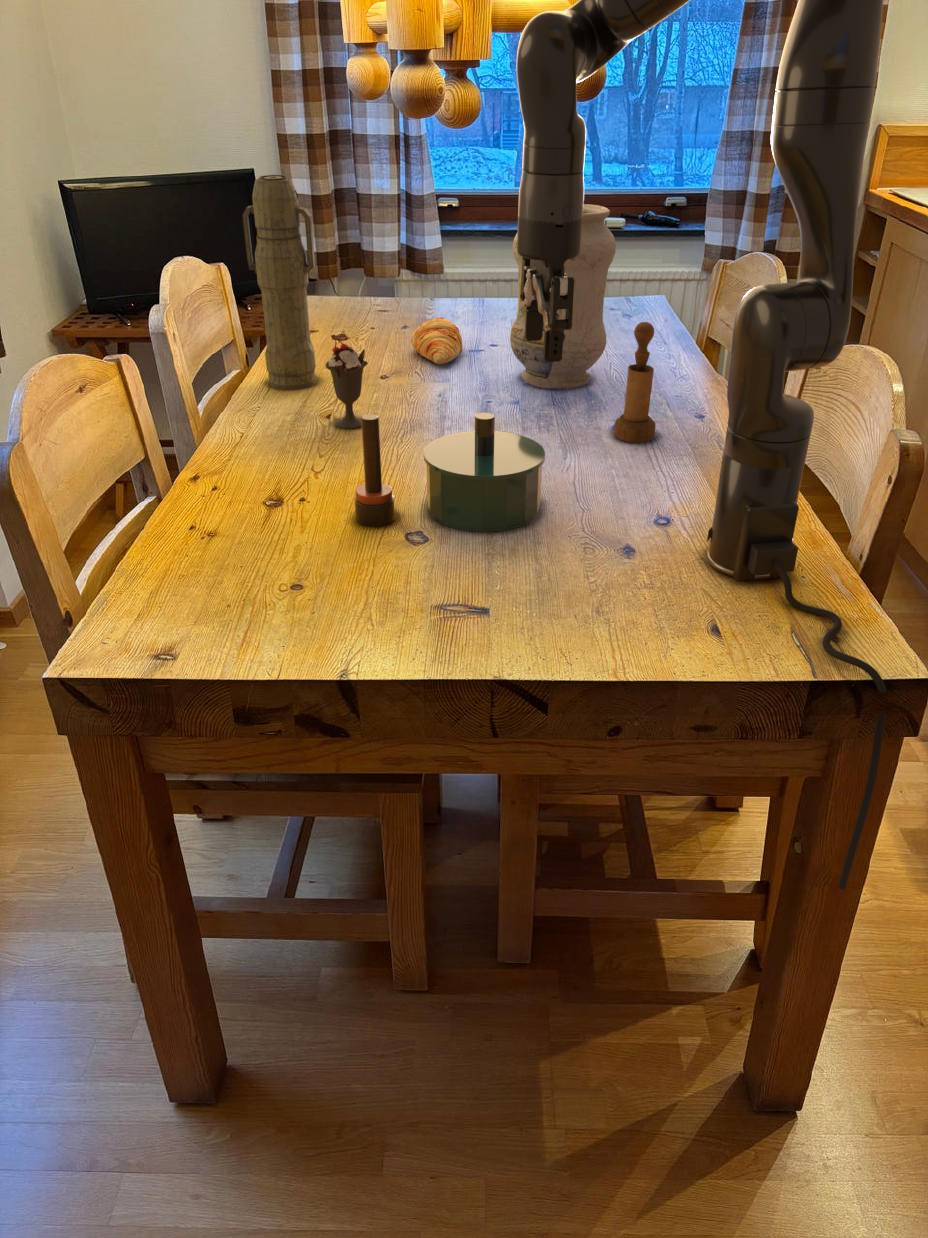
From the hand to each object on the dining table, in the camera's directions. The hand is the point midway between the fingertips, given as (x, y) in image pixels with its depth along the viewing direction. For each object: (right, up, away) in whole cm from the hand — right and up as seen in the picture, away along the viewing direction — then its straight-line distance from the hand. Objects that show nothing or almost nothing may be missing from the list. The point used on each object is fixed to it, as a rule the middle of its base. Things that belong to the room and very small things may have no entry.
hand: (542, 350), depth 121 cm
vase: (+8, +11, +60) cm, 62 cm away
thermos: (-42, +10, +58) cm, 72 cm away
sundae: (-29, -2, +39) cm, 49 cm away
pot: (-7, -19, +11) cm, 23 cm away
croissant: (-15, +20, +74) cm, 78 cm away
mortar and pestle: (+18, -4, +35) cm, 39 cm away
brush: (-22, -20, +8) cm, 31 cm away
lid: (-7, -12, +7) cm, 16 cm away
